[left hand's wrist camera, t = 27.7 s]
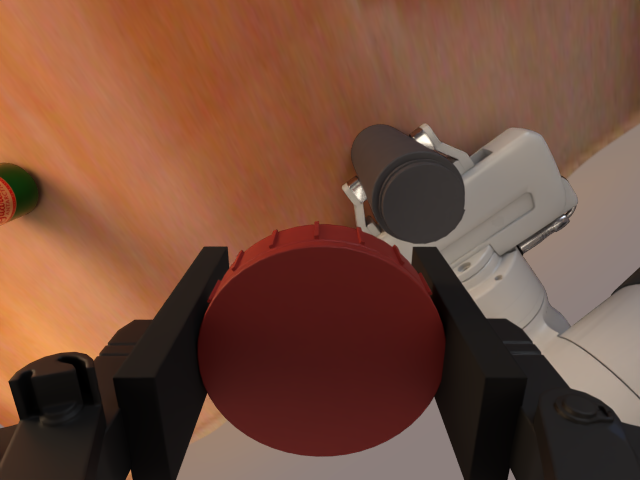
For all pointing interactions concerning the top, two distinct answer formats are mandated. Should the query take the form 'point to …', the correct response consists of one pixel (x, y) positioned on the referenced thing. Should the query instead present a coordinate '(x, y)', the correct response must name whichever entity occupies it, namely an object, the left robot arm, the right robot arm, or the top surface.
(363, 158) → the screw-top jar
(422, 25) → the top surface
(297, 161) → the top surface
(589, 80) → the top surface
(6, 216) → the soda can
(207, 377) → the lid
